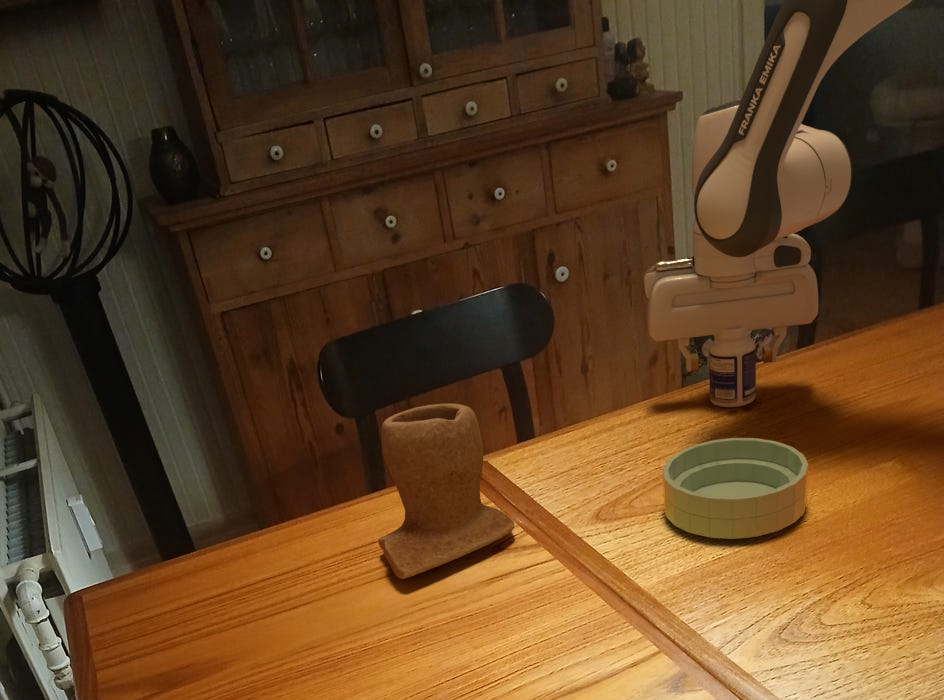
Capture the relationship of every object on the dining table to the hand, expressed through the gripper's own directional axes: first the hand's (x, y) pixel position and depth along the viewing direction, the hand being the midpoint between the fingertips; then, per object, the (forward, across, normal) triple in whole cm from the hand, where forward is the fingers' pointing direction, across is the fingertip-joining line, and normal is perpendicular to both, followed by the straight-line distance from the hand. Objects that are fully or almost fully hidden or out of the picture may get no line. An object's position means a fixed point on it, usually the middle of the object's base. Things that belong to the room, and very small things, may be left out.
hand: (730, 365), depth 124 cm
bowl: (+5, -4, -30) cm, 30 cm away
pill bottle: (+5, 0, 0) cm, 5 cm away
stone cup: (+5, -35, -32) cm, 47 cm away
